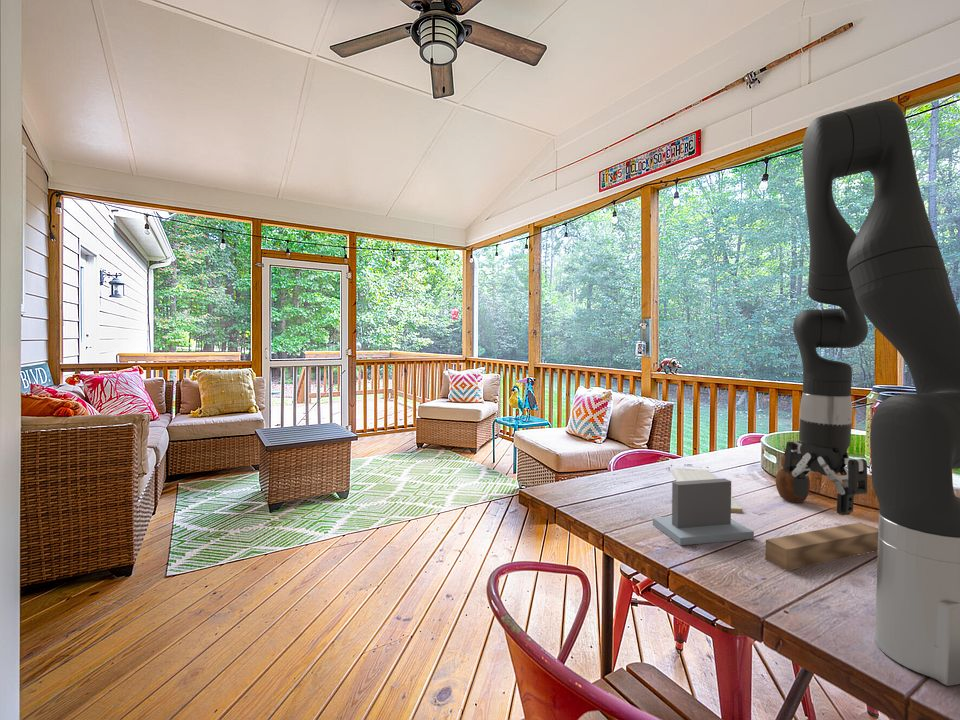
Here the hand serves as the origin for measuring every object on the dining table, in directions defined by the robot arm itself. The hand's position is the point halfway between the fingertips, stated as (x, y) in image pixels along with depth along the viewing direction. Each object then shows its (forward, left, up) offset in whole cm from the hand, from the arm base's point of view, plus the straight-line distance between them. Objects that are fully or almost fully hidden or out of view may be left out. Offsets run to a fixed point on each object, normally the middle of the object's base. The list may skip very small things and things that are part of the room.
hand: (821, 504), depth 83 cm
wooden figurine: (+24, -18, -9) cm, 31 cm away
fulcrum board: (+12, +15, -9) cm, 22 cm away
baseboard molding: (+36, -1, -10) cm, 38 cm away
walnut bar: (-1, -1, -10) cm, 9 cm away
